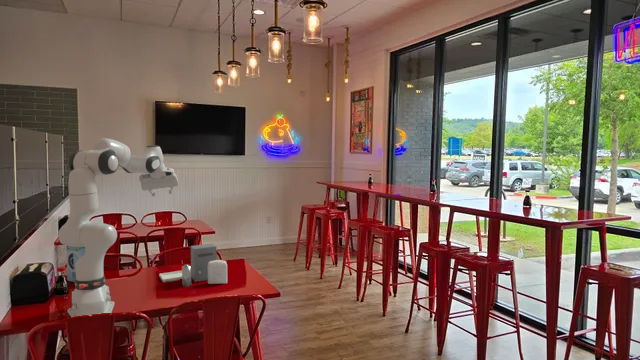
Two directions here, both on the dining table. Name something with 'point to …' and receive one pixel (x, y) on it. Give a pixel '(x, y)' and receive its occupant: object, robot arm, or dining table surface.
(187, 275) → the cartridge
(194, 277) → the box
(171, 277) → the tray
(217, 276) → the photo printer
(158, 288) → the dining table surface
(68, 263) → the gum box
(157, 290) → the dining table surface
